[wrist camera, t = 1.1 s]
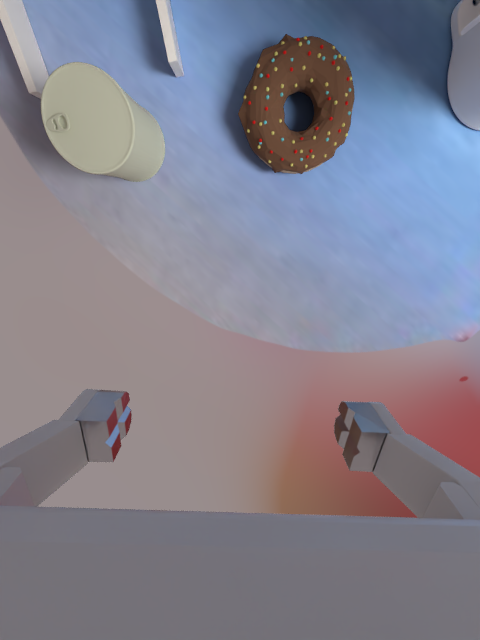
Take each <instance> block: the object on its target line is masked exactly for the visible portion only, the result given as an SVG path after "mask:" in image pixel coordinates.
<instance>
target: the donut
mask: <svg viewBox="0 0 480 640" xmlns="http://www.w3.org/2000/svg"><path fill="white" fill-rule="evenodd" d="M345 60H346V57H345V56H344V57H342V55H341V54H340V53H339V52H338V51H337V49H336V48H335V46H333V45H332V44H330V43H328V42H326V41H325V40H323V39H321V38H318V37H313V36H309V37H307V36H305V37H302V38H293V37H291V36H289V35H287V34H286V35H285V36H284V37H283V39H282V40H281V41H280V43H279V44H277V45H274V46H271V47H269V48H266V49H263V51H262V53H261V56H260V58H259V60H258V63H257V65H256V67H255V70H254V72H253V76H252V79H251V80H250V82H249V84H248V86H247V88H246V91H245V94H244V97H243V99H244V101H243V103H242V106H241V108H240V110H239V113H238V115H239V118H240V120H241V123H242V126H243V128H244V131H245V134H246V137H247V139H248V142H249V144H250V147H251V149H252V150H253V151H254V153H255V154H256V155H257V156H259V158H260V159H261V160H263V161H264V162H265V163H266V164H267V165H268V166H270V167H271V168H272V169H273V171H274V172H275V173H276V172H284V173H293V174H296V173H300V174H302V173H303V172H307V171H309V170H312V169H314V168H316V167H318V166H320V165H321V164H322V163H324V162H325V161H327V160H329V159H330V158H332V157H333V156H334V153H335V150H336V149H337V148H338V147H339V146H340V145H342V144H343V143H344V142H345V139H346V136H347V135H348V131H349V127H350V123H351V113H352V109H353V102H354V86H353V81H352V75H351V71H350V68H349V66H348V64H347V62H346V61H345ZM296 92H302V93H305V94H306V95H307V96H309V97H310V98H311V100H312V103H313V105H314V116H313V120H312V123H311V125H310V126H309V127H308V128H307V129H306V130H304V131H300V132H295V131H291V130H289V129H288V127H287V126H286V124H285V123H284V108H283V106H284V103H285V101H286V98H287V97H288V96H289V95H291V94H293V93H296Z"/></svg>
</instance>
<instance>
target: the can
mask: <svg viewBox="0 0 480 640" xmlns="http://www.w3.org/2000/svg"><path fill="white" fill-rule="evenodd" d="M41 115H42V120H43V124H44V128H45V130H46V133H47V135H48V137H49V139H50V141H51V143H52V145H53V146H54V147H55V149H56V150H57V152H58V153H59V154H60V155H61V156H62V157H63V158H64V159H65V160H66V161H67V162H68V163H70V164H71V165H73V166H74V167H76V168H77V169H79V170H81V171H84V172H87V173H91V174H102V175H108V176H114V177H119V178H123V179H125V180H128V181H133V182H140V181H145V180H147V179H149V178H151V177H153V176H154V175H155V174H156V173H157V172H158V170H159V169H160V167H161V165H162V163H163V160H164V155H165V142H164V137H163V134H162V131H161V128H160V126H159V124H158V123H157V121H156V120H155V118H154V117H153V116H152V115H151V114H150V113H149V112H148V111H147V110H146V109H144V108H143V107H141V106H139V105H138V104H137V103H136V102H135V101H134V100H133V99H132V98H131V97H130V96H129V95H128V94H127V93H126V92H125V91H124V90H123V89H122V88H121V87H120V86H119V85H118V84H117V83H116V81H115V80H114V79H113V78H112V77H111V76H109V75H108V74H107V73H106V72H104V71H103V70H101V69H99V68H97V67H96V66H93V65H90V64H87V63H81V62H73V63H67V64H65V65H62V66H60V67H59V68H57V69H56V70H55V71H54V72H53V73H52V74H51V75H50V76H49V78H48V79H47V81H46V83H45V85H44V88H43V91H42V96H41Z"/></svg>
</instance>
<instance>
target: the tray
mask: <svg viewBox="0 0 480 640" xmlns="http://www.w3.org/2000/svg"><path fill="white" fill-rule="evenodd" d="M156 4H157V8H158V13H159V18H160V23H161V28H162V32H163V37H164V42H165V47H166V52H167V56H168V61H169V64H170V66H171V68H172V70H173V72H174V73H175V75H176V77H181V76H184V72H183V67H182V62H181V56H180V51H179V46H178V41H177V36H176V31H175V25H174V20H173V15H172V10H171V5H170V0H156ZM0 19H1V22H2V25H3V27H4V30H5V32H6V35H7V37H8V40H9V43H10V45H11V48H12V50H13V53H14V56H15V58H16V61H17V63H18V66H19V68H20V71H21V74H22V76H23V79H24V81H25V84H26V87H27V89H28V92H29V93H30V94H32V95H34V96H36V97H38V98H40V99H41V96H42V91H43V88H44V85H45V83H46V81H47V79H48V78H49V75H48V72H47V70H46V67H45V64H44V61H43V58H42V55H41V53H40V50H39V47H38V44H37V41H36V39H35V36H34V33H33V30H32V27H31V25H30V22H29V19H28V16H27V13H26V10H25V8H24V5H23V2H22V0H0Z"/></svg>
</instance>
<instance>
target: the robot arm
mask: <svg viewBox="0 0 480 640" xmlns="http://www.w3.org/2000/svg"><path fill="white" fill-rule="evenodd" d="M451 32H452V40H453V49H452V55H451V59H450V64H449V70H448V82H447V83H448V95H449V100H450V104H451V106H452V109H453V111H454V113H455V114H456V116H457V117H458V118H459V120H460V121H461V122H462V123H464V124H465V125H466V126H468V127H470V128H472V129H475V130H479V131H480V0H475V6H474V5H473V0H461V1H460V2H459V3H458V4H457V6H456V7H455V8H454V10H453V13H452V16H451ZM129 401H130V398H129V393H128V392H126V391H111V390H93V389H86V390H84V391H83V392H82V393H81V394H80V395H79V396H78V398H77V399H76V400H75V401H74V402H73V403H72V405H71V406H70V407H69V408H68V409H67V411H66V412H65V413H64V414H63V415H62V416H61V418H60V419H59V420H53V421H51V422H49V423H47V424H45V425H43V426H42V427H39V428H37V429H36V430H34V431H32V432H30V433H28V434H26V435H24V436H22V437H20V438H18V439H16V440H14V441H12V442H10V443H8V444H7V445H5V446H3V447H1V448H0V640H480V478H479V477H478V476H476V475H474V474H473V473H471V472H470V471H468V470H466V469H465V468H463V467H462V466H460V465H458V464H457V463H455V462H454V461H452V460H450V459H449V458H447V457H446V456H444V455H442V454H441V453H439V452H438V451H436V450H434V449H433V448H431V447H430V446H428V445H426V444H425V443H423V442H422V441H420V440H418V439H417V438H415V437H414V436H412V435H409V434H406V433H405V432H404V431H403V429H402V428H401V427H400V425H399V424H398V423H397V422H396V420H395V419H394V418H393V416H392V415H391V414H390V412H389V411H388V410H387V408H386V407H385V405H384V404H382V403H381V402H345V401H342V402H341V403H340V405H339V408H338V410H339V412H340V414H341V415H340V416H338V417H337V418H336V420H335V425H334V433H335V437H336V440H337V443H338V444H339V445H340V446H341V447H342V448H343V449H344V451H343V456H344V459H345V461H346V464H347V466H348V468H349V470H350V471H367V472H373V474H374V475H375V476H376V477H377V478H378V479H379V480H380V481H381V482H382V483H383V484H384V485H386V486H387V487H388V488H389V489H390V490H391V491H392V492H393V493H394V494H395V495H396V496H397V497H398V498H399V499H400V500H401V501H402V502H403V503H404V504H405V505H406V506H407V507H408V508H409V509H410V510H411V511H412V512H413V513H414V514H415V515H416V516H417V517H418V518H402V517H370V516H336V515H335V516H334V515H302V514H267V513H234V512H201V511H198V512H197V511H167V510H133V509H132V510H131V509H99V508H98V509H97V508H65V507H64V508H63V507H37V506H38V505H39V504H41V503H42V502H43V501H44V500H45V499H47V498H48V497H49V496H50V495H51V494H52V493H54V492H55V491H56V490H57V489H58V488H60V487H61V486H62V485H63V484H64V483H65V482H67V481H68V480H69V479H70V478H71V477H73V476H74V475H75V474H76V473H77V472H78V471H80V470H81V469H82V468H83V467H84V466H86V465H87V464H88V462H114V460H115V458H116V456H117V454H118V452H119V450H120V448H121V439H123V438H124V437H125V436H126V435H127V433H128V431H129V428H130V424H131V416H132V414H131V409H130V408H129V407H128V406H127V404H128V403H129Z"/></svg>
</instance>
